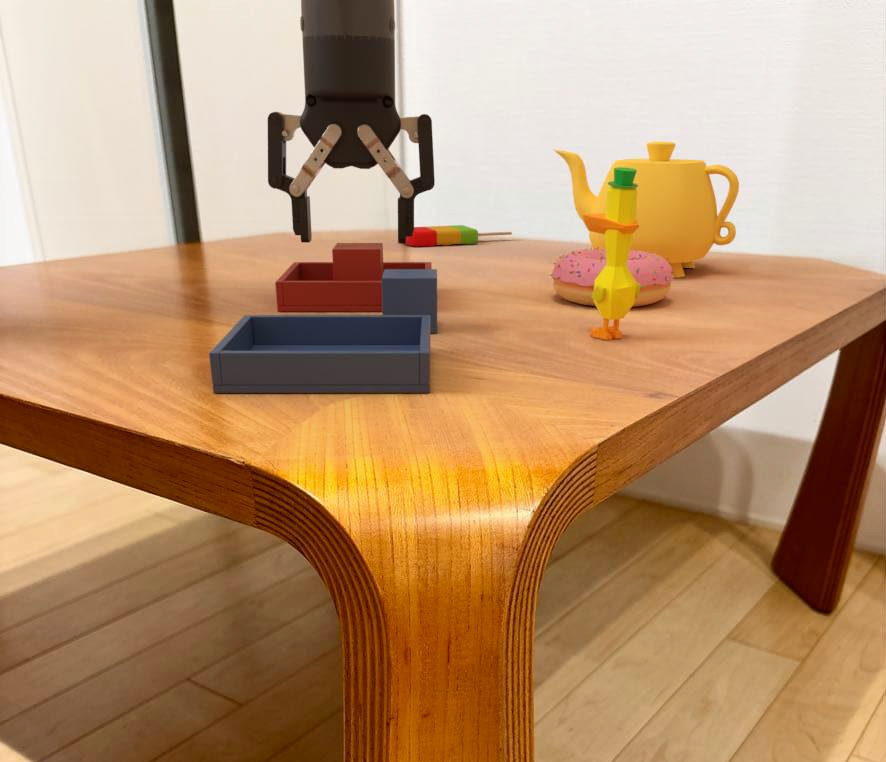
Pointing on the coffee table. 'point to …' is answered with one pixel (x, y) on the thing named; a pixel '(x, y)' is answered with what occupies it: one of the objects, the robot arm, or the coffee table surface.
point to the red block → (358, 262)
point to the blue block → (410, 293)
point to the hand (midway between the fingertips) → (354, 242)
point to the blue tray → (324, 354)
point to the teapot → (664, 204)
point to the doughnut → (584, 266)
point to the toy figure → (615, 253)
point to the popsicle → (446, 235)
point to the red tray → (331, 289)
